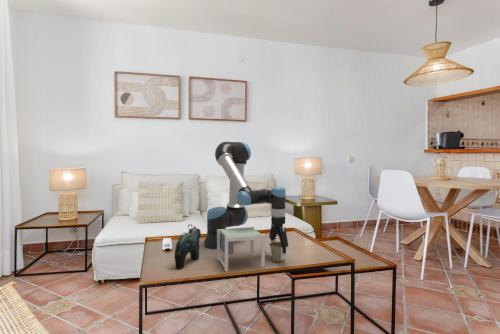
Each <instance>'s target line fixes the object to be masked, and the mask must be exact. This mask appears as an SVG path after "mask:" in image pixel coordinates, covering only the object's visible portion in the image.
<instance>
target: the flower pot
mask: <svg viewBox="0 0 500 334" xmlns="http://www.w3.org/2000/svg"><path fill="white" fill-rule="evenodd" d="M268 244H269V248H270V255H271V260H272V261H273V262H276V263H278V262H283V261H284V260H285V259H283V260H281V242H280V241H276V242H272V243H271V242H270V243H268Z"/></svg>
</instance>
